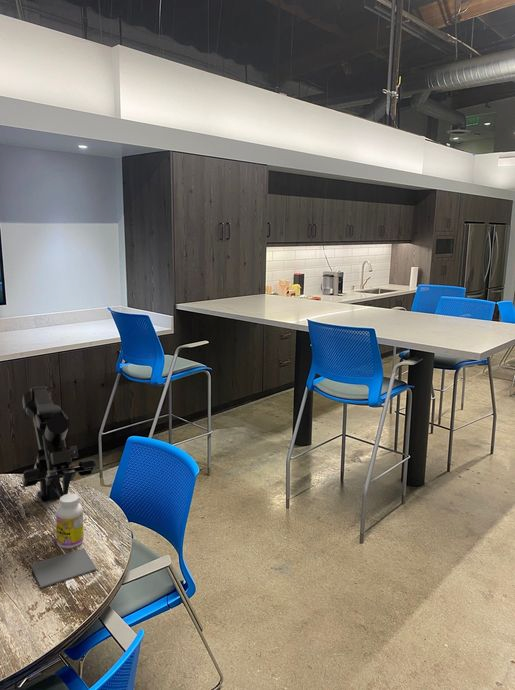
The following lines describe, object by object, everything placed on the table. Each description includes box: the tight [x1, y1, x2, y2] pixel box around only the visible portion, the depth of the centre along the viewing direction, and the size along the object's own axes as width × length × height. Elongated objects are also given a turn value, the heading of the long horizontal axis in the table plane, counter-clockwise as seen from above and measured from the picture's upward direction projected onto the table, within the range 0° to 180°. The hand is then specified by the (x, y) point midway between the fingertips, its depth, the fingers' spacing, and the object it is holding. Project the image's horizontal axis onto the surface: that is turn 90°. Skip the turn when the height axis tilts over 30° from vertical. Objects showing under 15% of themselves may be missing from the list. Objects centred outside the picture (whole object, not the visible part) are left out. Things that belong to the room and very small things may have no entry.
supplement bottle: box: [55, 493, 84, 549], centre depth 138 cm, size 7×7×13 cm
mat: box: [30, 547, 98, 589], centre depth 129 cm, size 10×13×1 cm
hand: (64, 502), depth 142 cm, fingers closed
